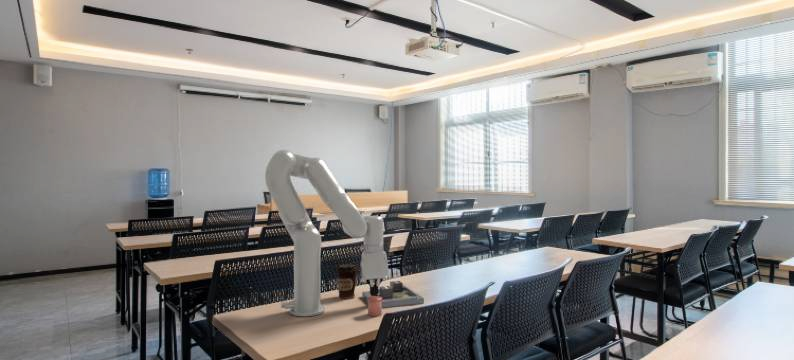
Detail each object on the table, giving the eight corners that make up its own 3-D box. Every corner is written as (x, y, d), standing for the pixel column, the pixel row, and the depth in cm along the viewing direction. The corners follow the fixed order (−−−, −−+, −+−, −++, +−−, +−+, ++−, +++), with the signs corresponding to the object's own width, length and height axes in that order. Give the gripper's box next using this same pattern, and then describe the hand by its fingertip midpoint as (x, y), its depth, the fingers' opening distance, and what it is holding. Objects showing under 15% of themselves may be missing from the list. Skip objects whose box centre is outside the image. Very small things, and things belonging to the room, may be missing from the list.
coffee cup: (353, 301, 177) (353, 268, 177) (333, 299, 179) (333, 267, 178) (359, 295, 185) (359, 263, 185) (340, 294, 187) (340, 263, 187)
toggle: (382, 299, 170) (382, 289, 170) (379, 297, 174) (379, 286, 174) (392, 298, 172) (392, 288, 172) (389, 296, 176) (389, 285, 175)
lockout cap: (369, 317, 157) (369, 300, 156) (365, 313, 161) (365, 296, 161) (383, 316, 158) (383, 299, 158) (379, 311, 163) (379, 295, 163)
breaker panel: (374, 308, 167) (374, 292, 167) (362, 296, 183) (362, 281, 183) (423, 303, 174) (423, 287, 173) (407, 292, 190) (407, 277, 189)
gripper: (357, 251, 165) (357, 301, 165) (395, 248, 170) (395, 296, 170) (352, 248, 172) (352, 295, 172) (388, 245, 177) (389, 291, 177)
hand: (374, 296), depth 171 cm, fingers closed
